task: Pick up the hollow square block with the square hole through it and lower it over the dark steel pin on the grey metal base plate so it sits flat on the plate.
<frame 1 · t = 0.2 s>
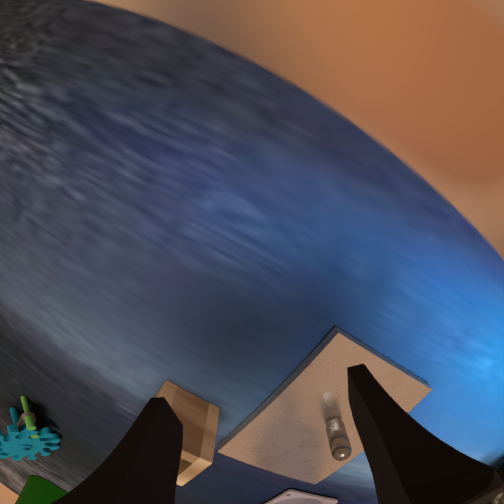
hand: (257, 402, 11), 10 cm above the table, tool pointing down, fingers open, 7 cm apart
hollow square block: (180, 410, 24), on the table
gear: (37, 421, 27), on the table
base plate: (324, 421, 24), on the table
green cylindrical container: (52, 490, 32), on the table
bench grinder: (501, 464, 30), on the table
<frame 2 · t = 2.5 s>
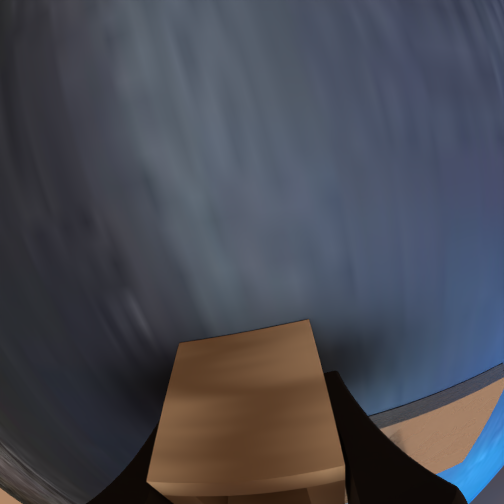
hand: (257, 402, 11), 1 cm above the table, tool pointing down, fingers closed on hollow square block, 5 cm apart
hollow square block: (257, 377, 12), on the table, touching gripper
base plate: (380, 457, 16), on the table
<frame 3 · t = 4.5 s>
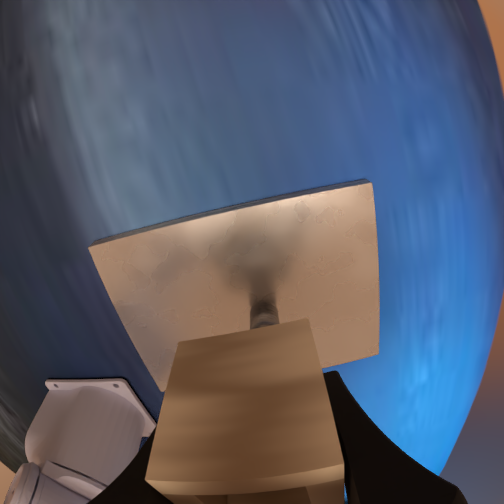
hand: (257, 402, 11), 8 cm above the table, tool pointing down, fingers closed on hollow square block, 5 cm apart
hollow square block: (256, 375, 12), point 7 cm above the table, touching gripper
base plate: (246, 301, 19), on the table
when the fingers open (3 cm above the table, at t = 7.0 s): hollow square block stays where it is, resting on base plate.
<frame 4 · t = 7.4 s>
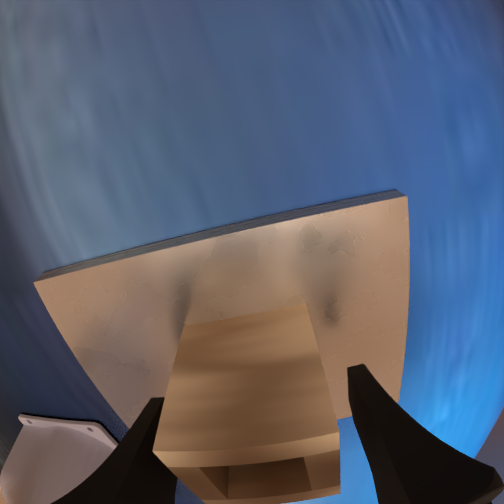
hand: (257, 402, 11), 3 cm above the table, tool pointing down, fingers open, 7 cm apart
hollow square block: (256, 360, 13), point 1 cm above the table, touching base plate
base plate: (235, 350, 14), on the table
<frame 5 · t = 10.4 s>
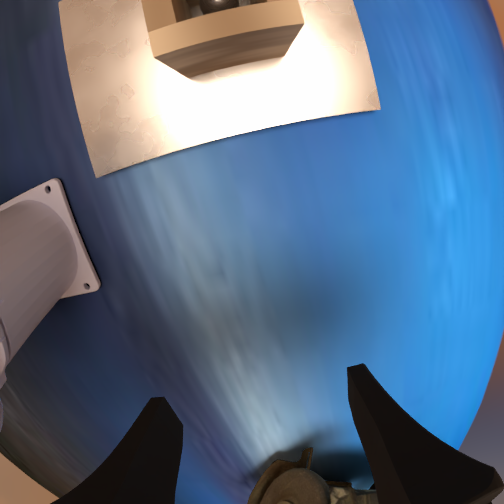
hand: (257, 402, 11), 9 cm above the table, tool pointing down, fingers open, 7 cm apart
hollow square block: (224, 23, 13), point 1 cm above the table, touching base plate
base plate: (208, 34, 14), on the table
bench grinder: (330, 468, 31), on the table
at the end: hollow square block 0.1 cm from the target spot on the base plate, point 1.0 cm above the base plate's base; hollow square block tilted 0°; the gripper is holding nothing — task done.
